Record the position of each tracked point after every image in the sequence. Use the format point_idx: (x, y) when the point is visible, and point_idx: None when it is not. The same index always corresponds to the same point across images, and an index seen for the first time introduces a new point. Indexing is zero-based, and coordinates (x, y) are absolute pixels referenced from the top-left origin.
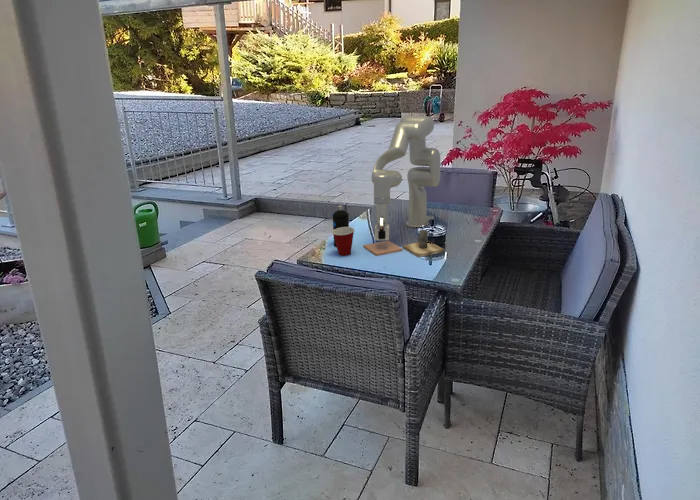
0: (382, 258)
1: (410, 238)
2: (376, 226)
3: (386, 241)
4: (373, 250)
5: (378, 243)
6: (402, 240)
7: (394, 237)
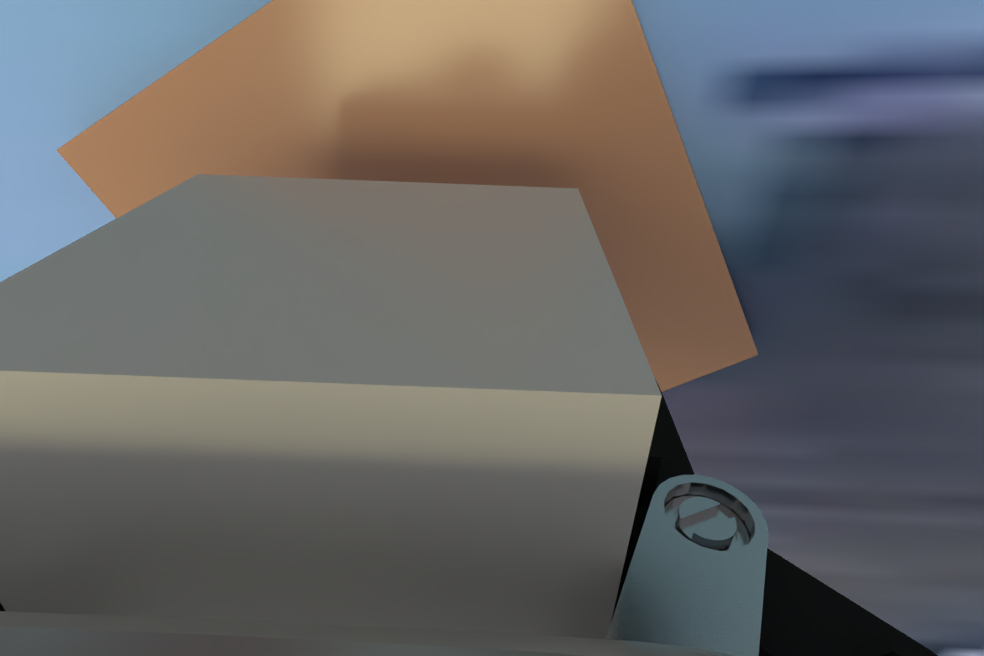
0: (13, 241)
1: (828, 577)
2: (185, 442)
3: (715, 326)
4: (229, 92)
5: (632, 189)
6: (779, 502)
7: (954, 422)
